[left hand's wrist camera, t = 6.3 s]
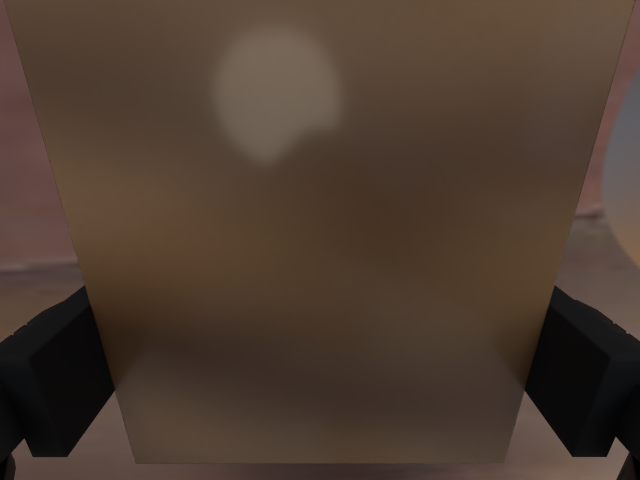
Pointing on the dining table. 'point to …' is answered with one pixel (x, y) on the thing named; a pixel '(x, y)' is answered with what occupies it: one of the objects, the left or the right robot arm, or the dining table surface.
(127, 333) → the cabinet
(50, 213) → the dining table surface
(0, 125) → the dining table surface
